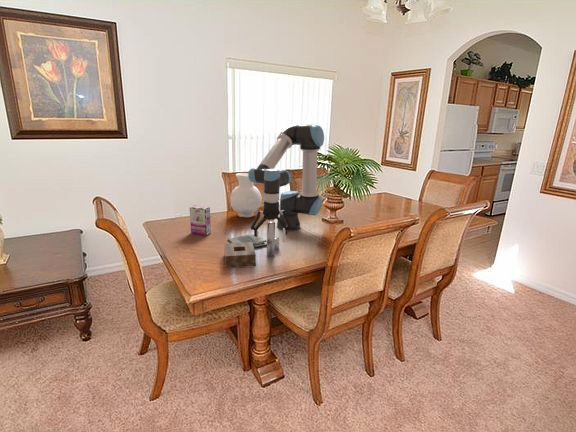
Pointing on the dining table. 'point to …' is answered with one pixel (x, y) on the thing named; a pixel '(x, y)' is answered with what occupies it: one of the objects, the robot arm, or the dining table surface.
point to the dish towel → (249, 240)
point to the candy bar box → (200, 220)
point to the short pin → (276, 243)
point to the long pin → (270, 239)
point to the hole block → (239, 255)
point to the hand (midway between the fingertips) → (270, 241)
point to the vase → (245, 196)
